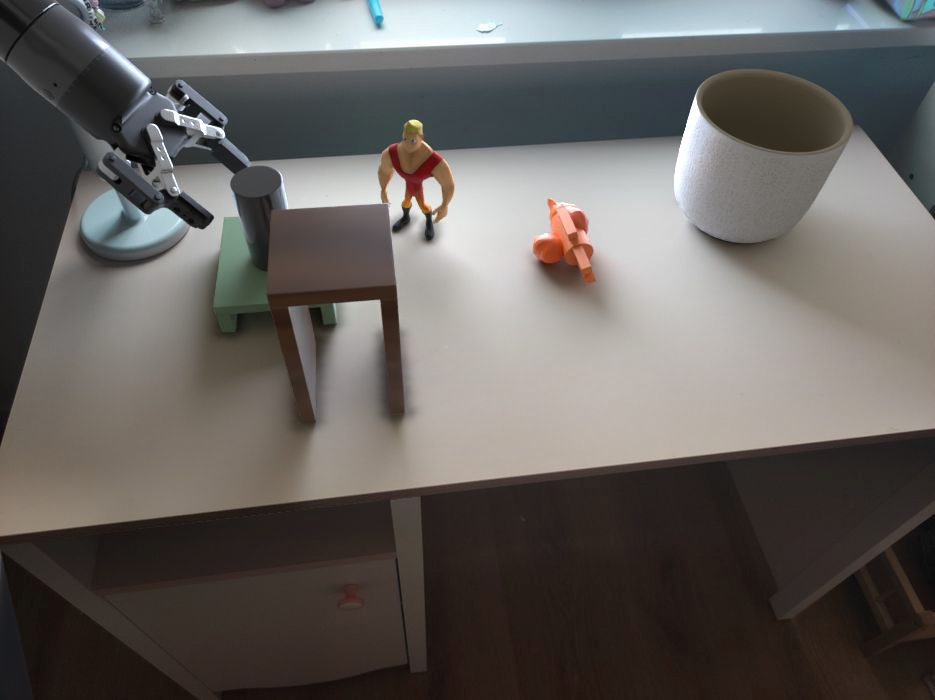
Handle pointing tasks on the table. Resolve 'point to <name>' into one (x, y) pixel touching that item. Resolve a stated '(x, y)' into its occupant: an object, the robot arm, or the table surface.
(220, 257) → the low shelf
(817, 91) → the planter
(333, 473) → the table surface
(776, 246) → the table surface
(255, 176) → the glossy black cylinder
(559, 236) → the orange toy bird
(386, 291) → the high shelf
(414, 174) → the action figure
